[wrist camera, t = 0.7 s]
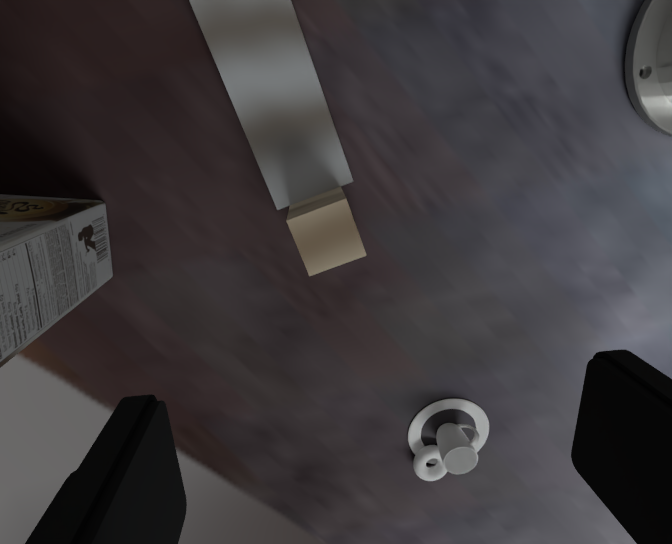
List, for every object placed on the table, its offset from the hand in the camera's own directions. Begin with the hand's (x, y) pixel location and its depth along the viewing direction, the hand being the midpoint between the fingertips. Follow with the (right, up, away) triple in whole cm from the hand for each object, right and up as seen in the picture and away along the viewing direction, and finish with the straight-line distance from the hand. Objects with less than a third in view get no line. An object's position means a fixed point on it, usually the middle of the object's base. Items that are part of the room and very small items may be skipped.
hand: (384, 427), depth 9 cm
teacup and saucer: (+7, -12, +32) cm, 34 cm away
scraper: (-6, +17, +19) cm, 27 cm away
